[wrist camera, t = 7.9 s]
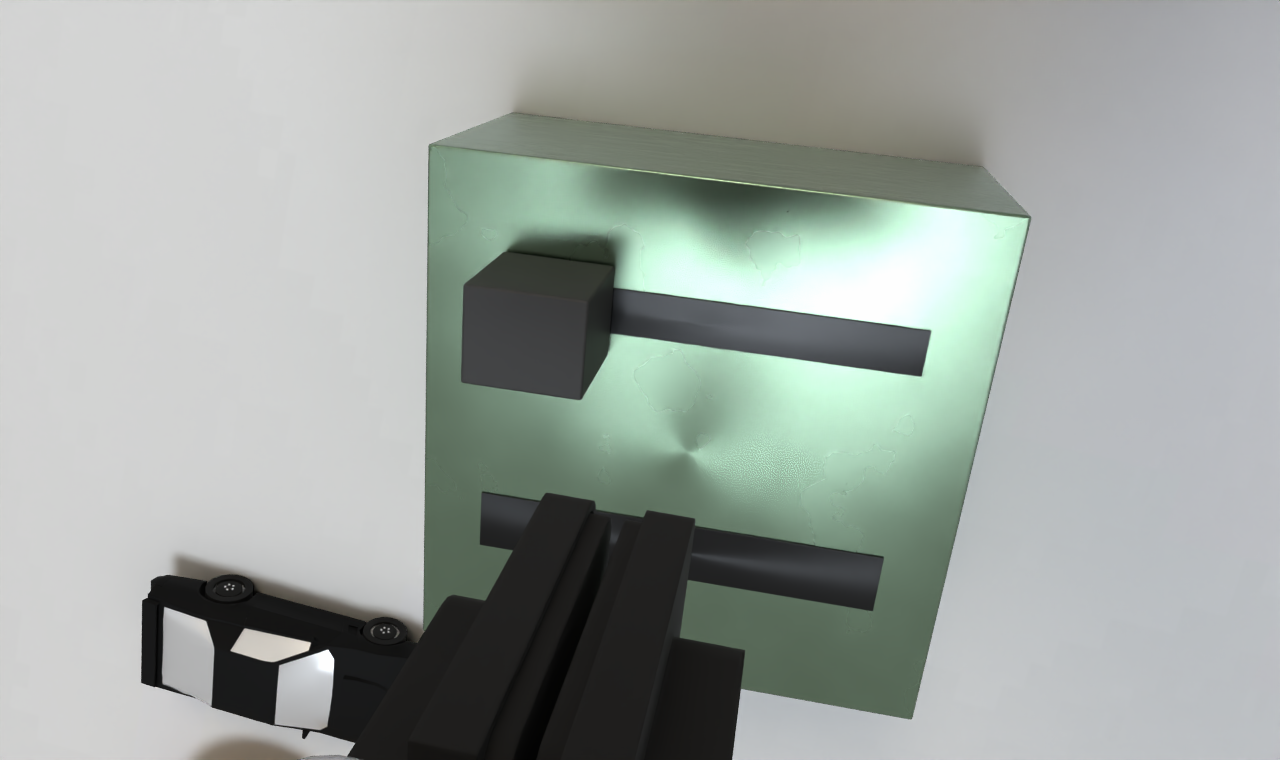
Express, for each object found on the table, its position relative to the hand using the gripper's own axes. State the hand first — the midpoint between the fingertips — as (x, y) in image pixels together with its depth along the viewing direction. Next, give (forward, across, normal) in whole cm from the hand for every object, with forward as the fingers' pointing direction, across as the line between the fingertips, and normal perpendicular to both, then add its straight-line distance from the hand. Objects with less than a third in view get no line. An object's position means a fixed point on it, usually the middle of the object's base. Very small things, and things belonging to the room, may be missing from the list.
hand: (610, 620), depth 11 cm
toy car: (+16, +12, +15) cm, 26 cm away
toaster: (+17, 0, +3) cm, 17 cm away
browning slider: (+10, +3, 0) cm, 11 cm away
